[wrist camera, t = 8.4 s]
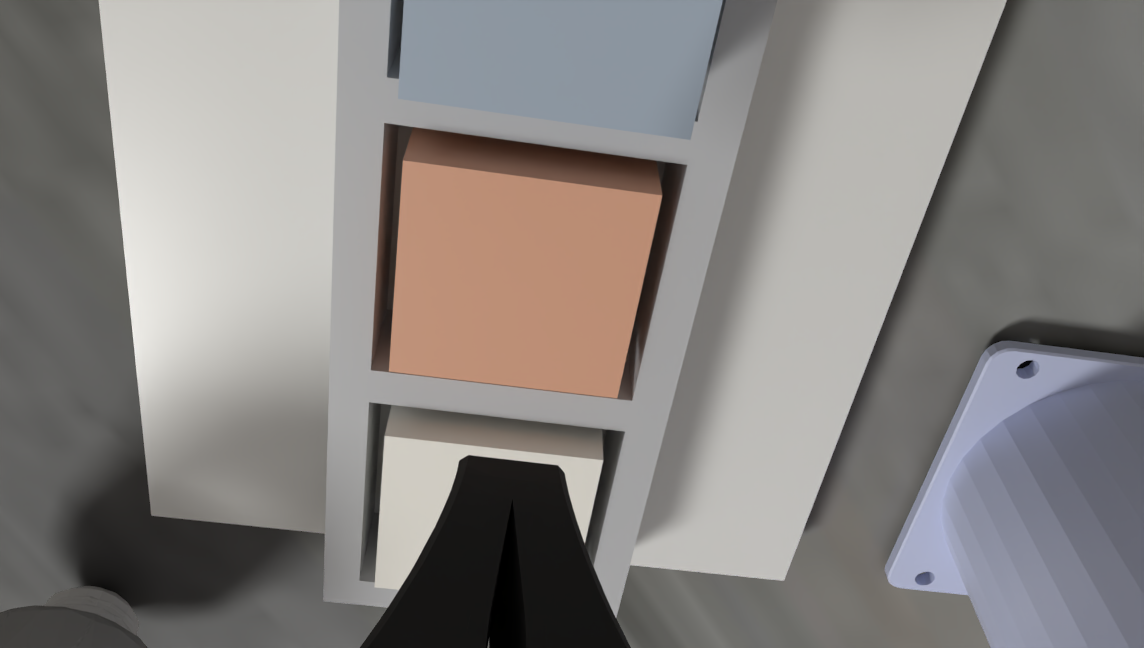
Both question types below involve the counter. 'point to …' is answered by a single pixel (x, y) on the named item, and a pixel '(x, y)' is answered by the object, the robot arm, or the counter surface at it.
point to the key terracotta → (519, 262)
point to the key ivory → (429, 465)
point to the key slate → (562, 59)
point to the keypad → (367, 389)
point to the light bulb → (72, 622)
